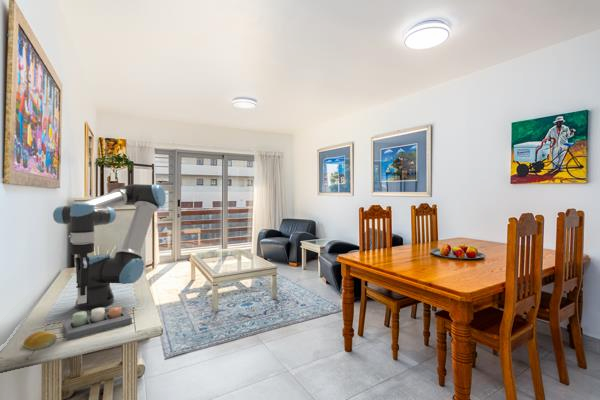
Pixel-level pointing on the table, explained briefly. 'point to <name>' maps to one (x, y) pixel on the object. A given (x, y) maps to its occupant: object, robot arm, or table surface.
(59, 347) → the table surface
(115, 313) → the brown egg
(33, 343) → the bread roll
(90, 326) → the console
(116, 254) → the robot arm
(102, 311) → the cream button
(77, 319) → the pale green rounded dome
